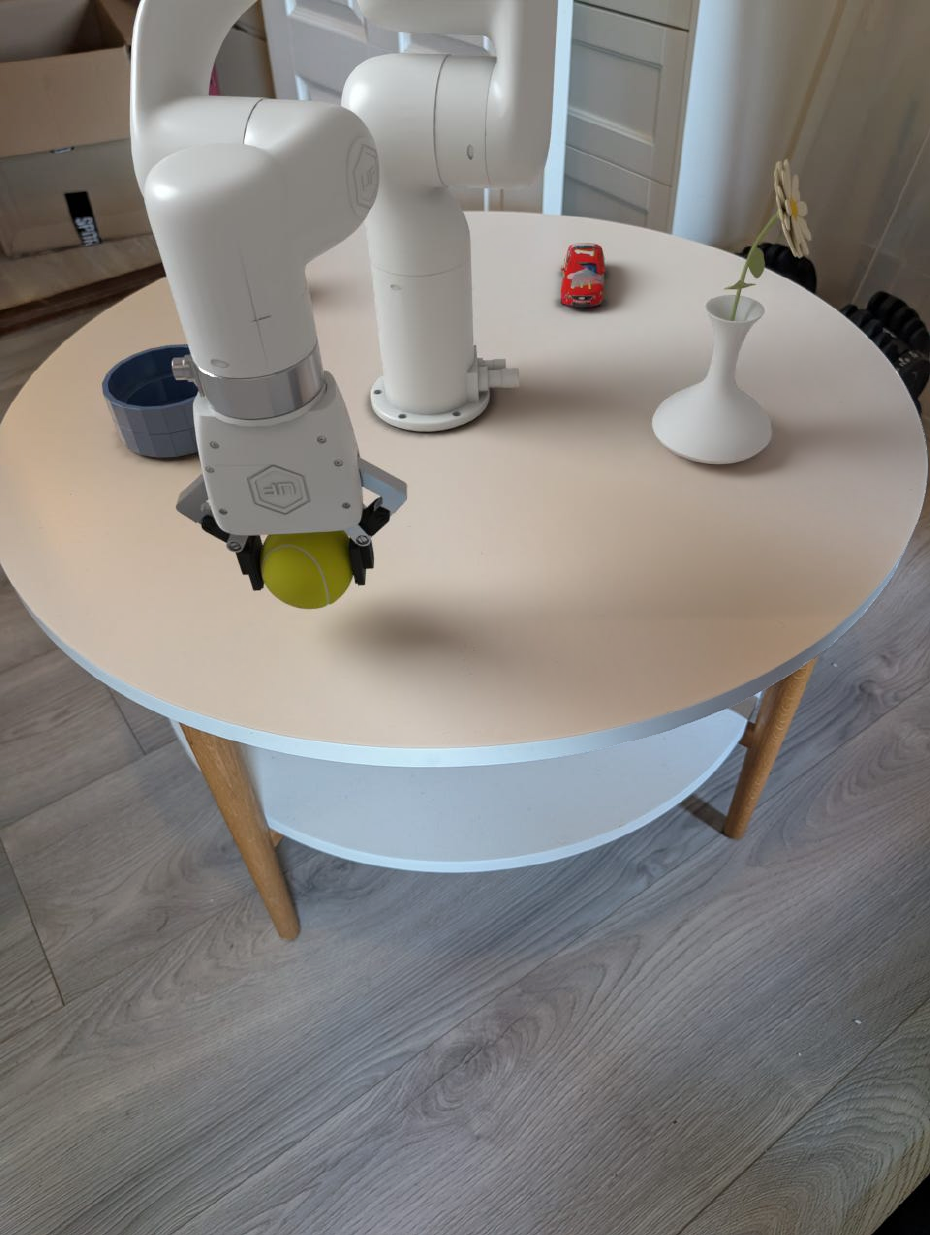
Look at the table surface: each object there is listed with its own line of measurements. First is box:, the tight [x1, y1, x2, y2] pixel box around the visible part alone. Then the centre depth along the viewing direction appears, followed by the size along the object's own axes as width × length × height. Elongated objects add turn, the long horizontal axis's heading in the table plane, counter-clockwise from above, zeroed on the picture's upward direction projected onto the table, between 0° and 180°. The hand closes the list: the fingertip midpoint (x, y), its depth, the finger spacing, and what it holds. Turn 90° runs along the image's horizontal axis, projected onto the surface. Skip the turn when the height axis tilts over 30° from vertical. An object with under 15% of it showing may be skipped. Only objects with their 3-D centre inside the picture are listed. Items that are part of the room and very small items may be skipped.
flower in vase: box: [651, 158, 812, 465], centre depth 77 cm, size 13×11×25 cm
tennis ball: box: [260, 530, 354, 610], centre depth 66 cm, size 7×7×7 cm
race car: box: [560, 242, 607, 308], centre depth 108 cm, size 13×5×4 cm, turn 171°
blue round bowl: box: [101, 343, 199, 459], centre depth 89 cm, size 12×12×6 cm
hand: (311, 573), depth 67 cm, fingers closed on tennis ball, 7 cm apart
